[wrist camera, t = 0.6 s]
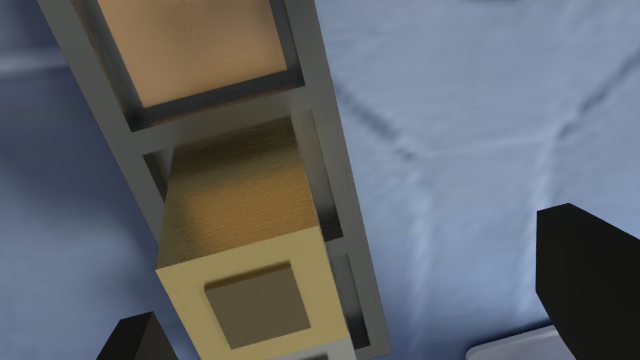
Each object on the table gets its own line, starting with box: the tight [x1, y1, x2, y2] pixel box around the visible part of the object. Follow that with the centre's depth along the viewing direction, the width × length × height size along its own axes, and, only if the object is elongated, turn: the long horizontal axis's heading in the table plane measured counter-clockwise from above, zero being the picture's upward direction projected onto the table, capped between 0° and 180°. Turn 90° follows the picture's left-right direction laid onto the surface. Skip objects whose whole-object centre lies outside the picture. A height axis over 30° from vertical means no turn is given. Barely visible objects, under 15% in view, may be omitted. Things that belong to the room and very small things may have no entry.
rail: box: [37, 0, 392, 360], centre depth 19 cm, size 19×7×1 cm, turn 12°
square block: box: [266, 258, 357, 360], centre depth 21 cm, size 4×4×4 cm
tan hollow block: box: [155, 119, 349, 360], centre depth 17 cm, size 4×4×6 cm
